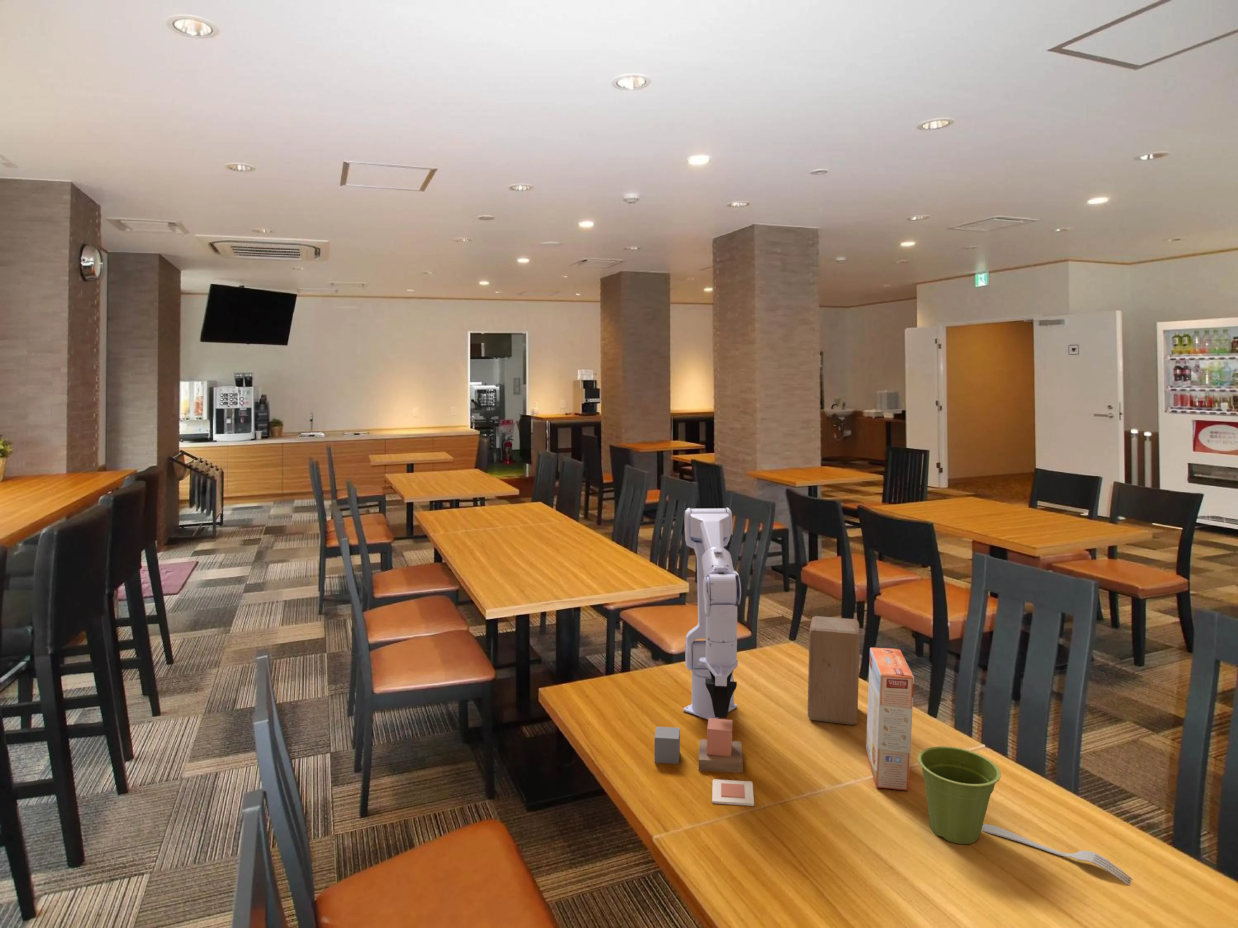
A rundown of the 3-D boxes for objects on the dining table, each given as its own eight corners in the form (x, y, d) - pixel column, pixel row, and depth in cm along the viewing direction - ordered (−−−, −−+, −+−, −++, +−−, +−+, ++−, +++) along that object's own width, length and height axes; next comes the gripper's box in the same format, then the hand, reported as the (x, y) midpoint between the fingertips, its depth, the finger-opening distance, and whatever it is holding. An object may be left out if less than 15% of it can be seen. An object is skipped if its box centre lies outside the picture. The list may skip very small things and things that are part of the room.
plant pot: (950, 861, 112) (953, 789, 110) (899, 816, 123) (901, 751, 122) (1015, 847, 115) (1019, 777, 113) (959, 805, 126) (962, 741, 125)
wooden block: (807, 721, 157) (809, 628, 155) (809, 701, 167) (811, 614, 164) (857, 727, 154) (860, 633, 152) (856, 706, 164) (859, 618, 161)
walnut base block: (699, 751, 146) (699, 738, 146) (741, 753, 145) (741, 741, 145) (698, 772, 138) (698, 759, 138) (742, 775, 137) (742, 762, 137)
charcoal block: (656, 750, 145) (656, 726, 145) (679, 752, 145) (679, 727, 144) (654, 762, 141) (654, 737, 140) (678, 764, 140) (678, 738, 140)
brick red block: (708, 742, 144) (708, 717, 143) (731, 744, 143) (732, 719, 143) (706, 754, 140) (707, 728, 139) (731, 756, 139) (731, 730, 138)
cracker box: (911, 792, 130) (915, 676, 128) (874, 788, 131) (878, 674, 129) (898, 752, 144) (901, 647, 141) (865, 750, 145) (868, 645, 142)
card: (712, 781, 134) (712, 777, 134) (752, 783, 133) (752, 780, 133) (712, 802, 127) (712, 799, 127) (754, 805, 126) (754, 802, 126)
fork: (983, 837, 121) (982, 821, 121) (1138, 881, 107) (1136, 862, 107) (977, 846, 119) (976, 829, 119) (1134, 891, 105) (1133, 872, 105)
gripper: (700, 623, 146) (700, 690, 148) (698, 650, 132) (698, 724, 134) (737, 625, 145) (736, 692, 147) (738, 652, 131) (738, 726, 133)
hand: (720, 707), depth 140 cm, fingers open, 7 cm apart
